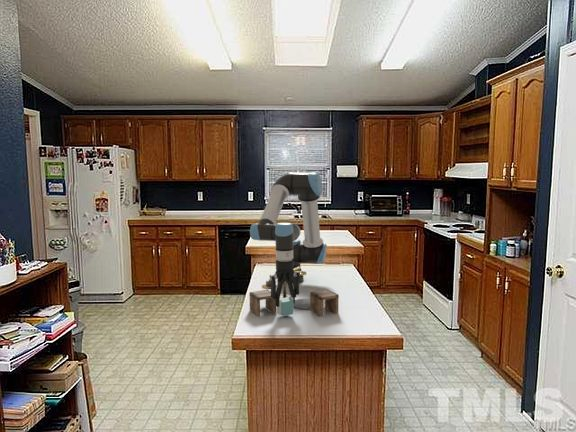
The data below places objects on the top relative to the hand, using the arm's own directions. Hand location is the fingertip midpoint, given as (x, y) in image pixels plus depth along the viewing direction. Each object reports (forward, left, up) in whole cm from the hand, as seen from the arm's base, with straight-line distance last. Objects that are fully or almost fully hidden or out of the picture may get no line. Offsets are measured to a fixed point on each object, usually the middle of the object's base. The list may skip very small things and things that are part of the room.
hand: (285, 312), depth 172 cm
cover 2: (+3, +18, -2) cm, 18 cm away
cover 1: (-10, -6, -2) cm, 12 cm away
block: (0, 0, 0) cm, 0 cm away
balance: (-20, +10, -2) cm, 22 cm away
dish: (-9, +15, -2) cm, 17 cm away
